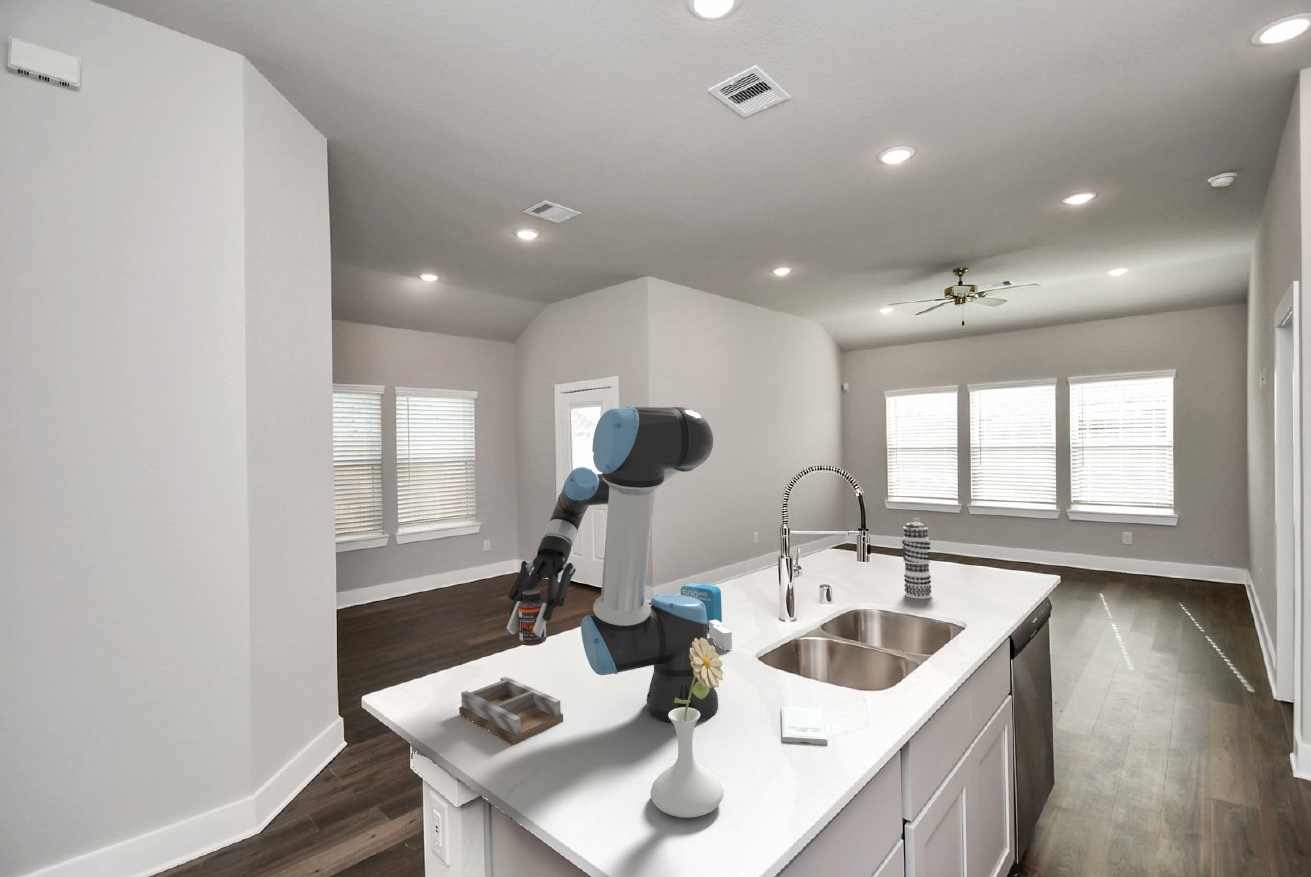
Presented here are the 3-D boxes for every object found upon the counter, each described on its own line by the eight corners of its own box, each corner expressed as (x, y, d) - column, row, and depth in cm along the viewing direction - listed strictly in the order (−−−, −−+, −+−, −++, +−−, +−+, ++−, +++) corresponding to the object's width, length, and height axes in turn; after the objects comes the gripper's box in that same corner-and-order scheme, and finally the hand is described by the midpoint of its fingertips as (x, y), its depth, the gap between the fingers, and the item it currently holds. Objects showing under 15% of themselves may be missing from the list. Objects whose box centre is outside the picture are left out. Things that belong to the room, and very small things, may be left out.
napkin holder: (737, 656, 155) (736, 634, 155) (695, 652, 158) (694, 631, 158) (746, 637, 169) (745, 617, 169) (707, 634, 173) (706, 615, 173)
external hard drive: (822, 716, 120) (827, 747, 108) (781, 714, 122) (782, 744, 110) (822, 708, 120) (827, 738, 108) (781, 706, 122) (781, 735, 110)
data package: (681, 624, 182) (679, 585, 182) (689, 620, 186) (688, 582, 186) (714, 630, 175) (713, 590, 175) (722, 626, 178) (721, 586, 178)
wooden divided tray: (563, 721, 121) (562, 699, 121) (513, 745, 112) (512, 721, 112) (508, 695, 134) (507, 675, 134) (459, 714, 125) (458, 693, 125)
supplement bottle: (519, 648, 128) (517, 596, 128) (519, 639, 134) (516, 589, 134) (547, 644, 130) (545, 593, 130) (546, 635, 136) (543, 586, 135)
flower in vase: (681, 837, 84) (675, 662, 84) (636, 799, 94) (631, 641, 94) (747, 801, 92) (741, 641, 92) (699, 770, 101) (694, 624, 101)
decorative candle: (904, 598, 202) (902, 525, 202) (902, 591, 210) (900, 521, 210) (934, 599, 199) (931, 525, 199) (930, 592, 207) (928, 521, 208)
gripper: (597, 552, 143) (568, 643, 128) (529, 550, 149) (494, 637, 134) (587, 534, 138) (555, 627, 123) (517, 533, 144) (478, 621, 129)
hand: (523, 632), depth 129 cm, fingers closed on supplement bottle, 6 cm apart
